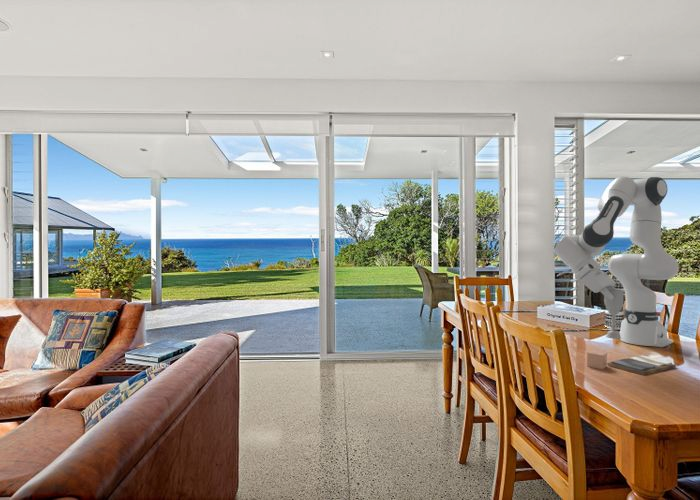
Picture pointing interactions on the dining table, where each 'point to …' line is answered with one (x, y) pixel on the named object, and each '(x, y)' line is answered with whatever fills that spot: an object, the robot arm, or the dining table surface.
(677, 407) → the dining table surface
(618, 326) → the decorative candle
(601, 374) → the dining table surface
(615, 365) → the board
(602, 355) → the terracotta cube
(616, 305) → the chalice
